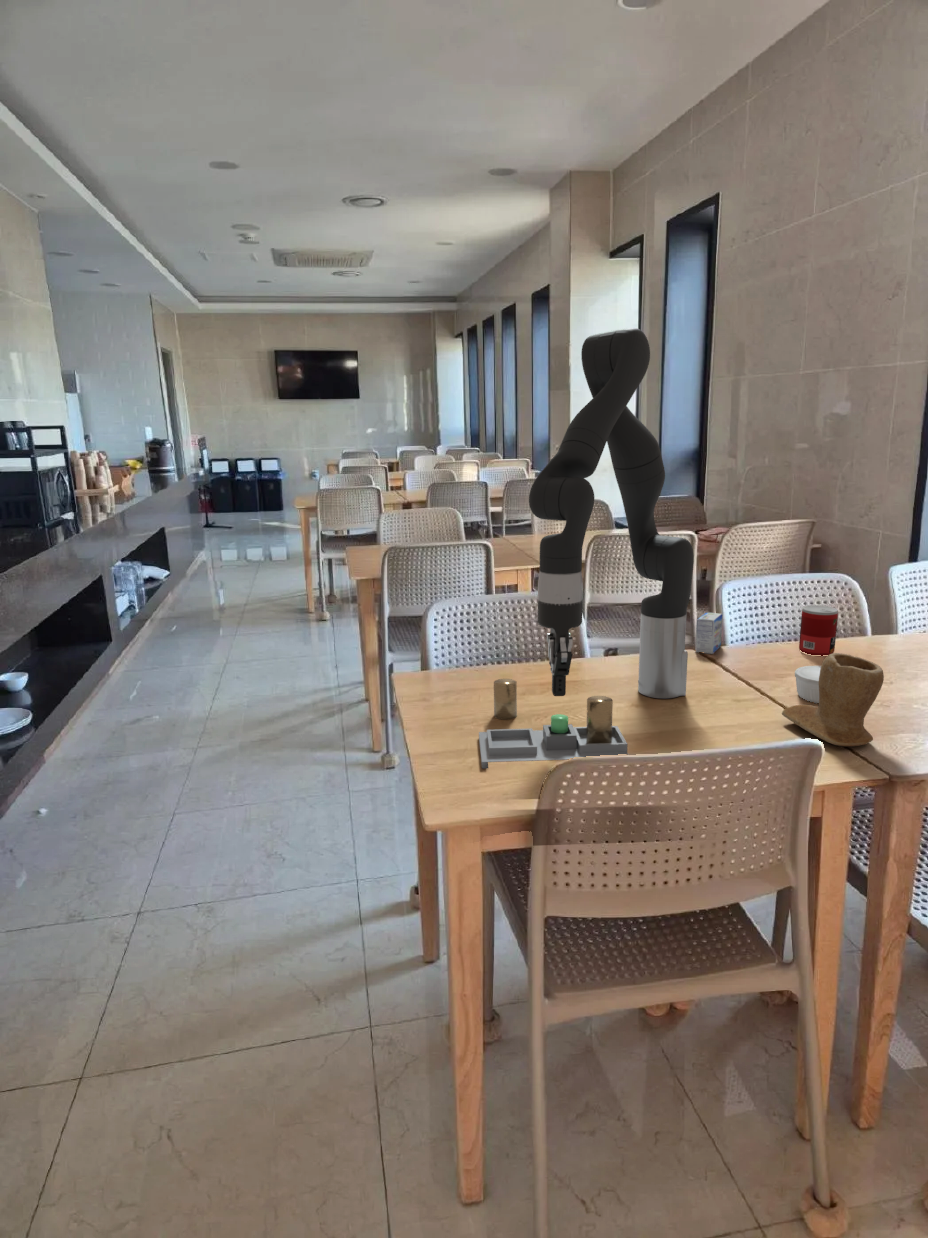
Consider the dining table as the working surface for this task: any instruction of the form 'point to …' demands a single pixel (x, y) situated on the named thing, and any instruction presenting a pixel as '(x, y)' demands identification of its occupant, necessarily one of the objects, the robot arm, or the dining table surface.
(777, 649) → the dining table surface
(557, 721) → the button
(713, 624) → the medicine box
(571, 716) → the dining table surface
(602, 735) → the seated billet
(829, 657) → the tan hollow curved piece
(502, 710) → the cylinder
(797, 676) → the ramekin
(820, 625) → the canned food
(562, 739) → the grey socket tray
